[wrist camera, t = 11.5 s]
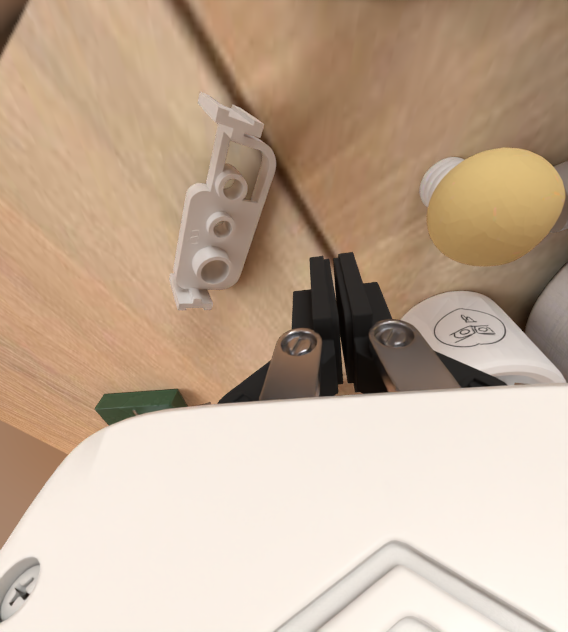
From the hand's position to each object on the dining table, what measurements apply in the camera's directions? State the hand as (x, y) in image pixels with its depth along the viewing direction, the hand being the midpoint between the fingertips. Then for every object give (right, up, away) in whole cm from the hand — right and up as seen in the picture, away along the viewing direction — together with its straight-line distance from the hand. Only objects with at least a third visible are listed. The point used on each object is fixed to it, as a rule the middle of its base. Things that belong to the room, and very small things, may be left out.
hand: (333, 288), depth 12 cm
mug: (+14, -3, +20) cm, 24 cm away
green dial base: (-21, -16, +32) cm, 41 cm away
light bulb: (+10, +9, +11) cm, 18 cm away
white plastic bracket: (-7, +8, +13) cm, 17 cm away
